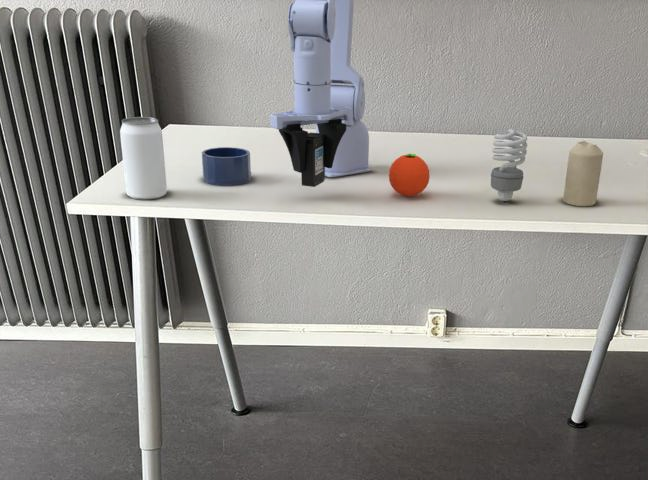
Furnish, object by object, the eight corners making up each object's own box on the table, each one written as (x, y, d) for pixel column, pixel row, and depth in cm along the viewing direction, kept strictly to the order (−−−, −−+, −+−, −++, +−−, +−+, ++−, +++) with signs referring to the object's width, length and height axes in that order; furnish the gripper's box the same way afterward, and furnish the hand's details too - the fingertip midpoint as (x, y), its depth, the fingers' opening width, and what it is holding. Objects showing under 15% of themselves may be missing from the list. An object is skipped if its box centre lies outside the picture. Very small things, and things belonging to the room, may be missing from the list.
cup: (235, 171, 153) (234, 145, 151) (259, 181, 147) (258, 154, 145) (195, 177, 148) (193, 150, 146) (217, 187, 142) (216, 159, 140)
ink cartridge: (314, 188, 135) (313, 138, 132) (301, 186, 136) (300, 136, 132) (325, 180, 140) (325, 132, 136) (313, 179, 140) (312, 131, 137)
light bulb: (511, 208, 137) (519, 134, 132) (481, 202, 140) (488, 129, 134) (527, 201, 141) (535, 129, 136) (497, 195, 144) (504, 124, 139)
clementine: (392, 187, 146) (394, 146, 143) (431, 190, 145) (434, 149, 142) (384, 199, 139) (386, 156, 136) (425, 202, 138) (428, 159, 135)
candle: (602, 204, 141) (611, 144, 137) (577, 208, 138) (586, 147, 134) (580, 196, 145) (588, 138, 141) (556, 199, 143) (563, 140, 138)
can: (126, 201, 133) (118, 124, 128) (126, 190, 139) (118, 116, 134) (168, 199, 135) (161, 123, 130) (166, 189, 141) (160, 116, 135)
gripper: (287, 89, 124) (288, 180, 130) (364, 83, 132) (362, 168, 138) (262, 83, 128) (264, 170, 134) (338, 77, 137) (337, 160, 143)
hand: (312, 169), depth 137 cm, fingers closed on ink cartridge, 5 cm apart
